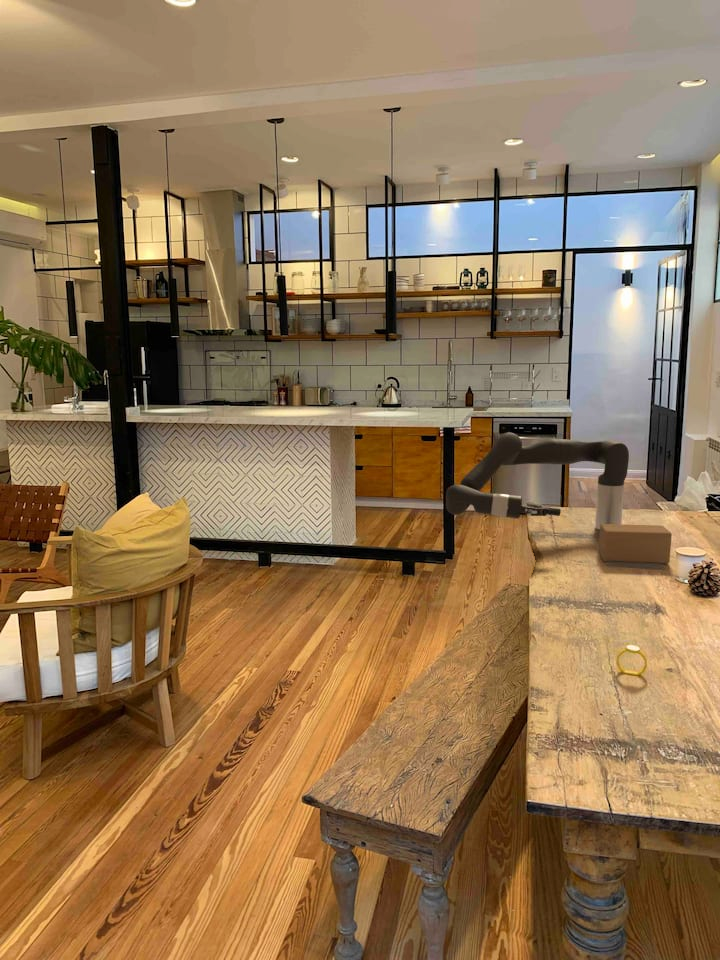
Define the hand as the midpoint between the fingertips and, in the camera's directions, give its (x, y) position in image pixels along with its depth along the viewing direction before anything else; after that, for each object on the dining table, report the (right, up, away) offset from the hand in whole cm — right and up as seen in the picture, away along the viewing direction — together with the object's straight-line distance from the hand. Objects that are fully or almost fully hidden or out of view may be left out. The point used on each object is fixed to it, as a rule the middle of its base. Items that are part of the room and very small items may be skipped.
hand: (560, 512), depth 235 cm
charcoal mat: (+23, -15, -3) cm, 28 cm away
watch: (-8, -31, -81) cm, 87 cm away
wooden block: (+13, -10, -1) cm, 16 cm away
